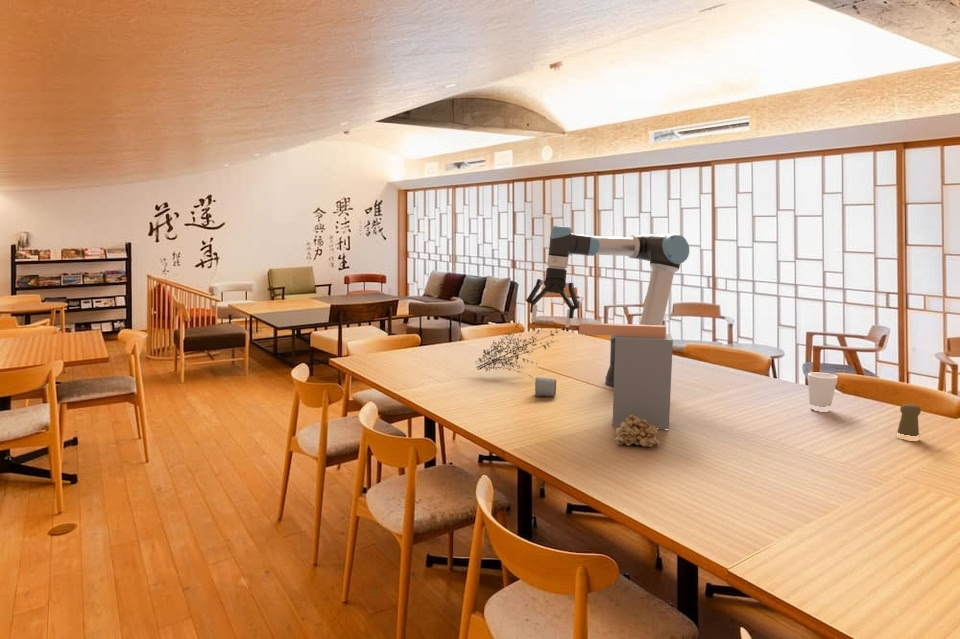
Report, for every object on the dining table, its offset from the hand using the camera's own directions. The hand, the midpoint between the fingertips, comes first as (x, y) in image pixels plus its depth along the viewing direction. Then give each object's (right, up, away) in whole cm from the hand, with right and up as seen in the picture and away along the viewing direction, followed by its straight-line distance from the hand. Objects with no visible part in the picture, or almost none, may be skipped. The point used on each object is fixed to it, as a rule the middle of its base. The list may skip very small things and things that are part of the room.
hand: (550, 324), depth 229 cm
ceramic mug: (-1, -29, +14) cm, 32 cm away
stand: (+28, -33, -22) cm, 49 cm away
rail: (+21, -3, -25) cm, 33 cm away
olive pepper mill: (+108, -36, -38) cm, 120 cm away
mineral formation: (+22, -36, -41) cm, 59 cm away
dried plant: (-8, -24, +45) cm, 52 cm away
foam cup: (+97, -31, -7) cm, 103 cm away
